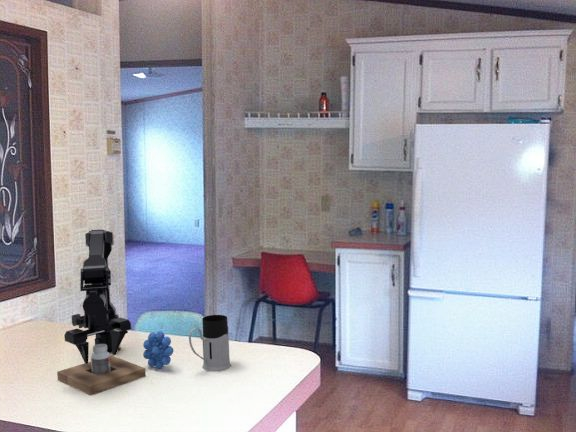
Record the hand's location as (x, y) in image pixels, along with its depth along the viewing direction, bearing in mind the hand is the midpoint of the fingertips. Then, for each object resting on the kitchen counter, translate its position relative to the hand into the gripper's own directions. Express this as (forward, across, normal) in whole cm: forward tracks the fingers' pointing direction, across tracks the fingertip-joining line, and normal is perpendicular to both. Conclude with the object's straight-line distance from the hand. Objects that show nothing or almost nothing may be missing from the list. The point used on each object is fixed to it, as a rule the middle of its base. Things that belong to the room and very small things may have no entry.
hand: (100, 359), depth 191 cm
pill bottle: (+6, 0, 0) cm, 6 cm away
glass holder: (+6, -25, +19) cm, 32 cm away
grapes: (+6, -16, +7) cm, 18 cm away
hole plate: (+6, 0, 0) cm, 6 cm away
